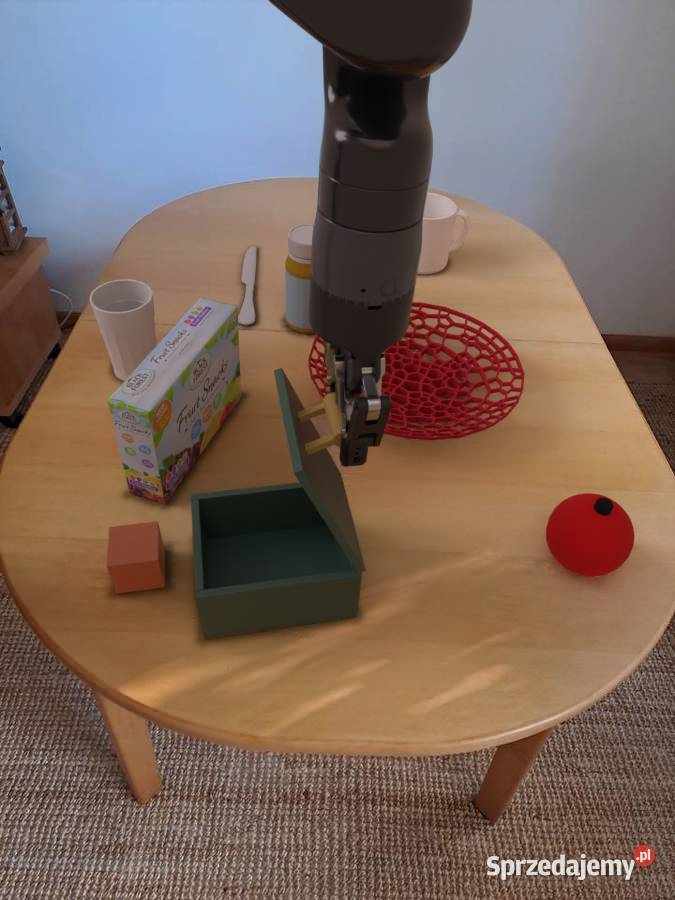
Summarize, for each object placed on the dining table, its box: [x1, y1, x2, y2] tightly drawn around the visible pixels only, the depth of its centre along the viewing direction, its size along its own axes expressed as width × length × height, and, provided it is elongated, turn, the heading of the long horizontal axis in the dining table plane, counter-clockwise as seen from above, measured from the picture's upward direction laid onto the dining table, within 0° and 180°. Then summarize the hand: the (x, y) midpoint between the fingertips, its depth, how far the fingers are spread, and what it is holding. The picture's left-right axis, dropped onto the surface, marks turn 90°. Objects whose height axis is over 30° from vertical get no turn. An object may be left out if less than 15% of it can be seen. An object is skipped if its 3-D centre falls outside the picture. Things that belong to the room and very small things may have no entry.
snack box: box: [107, 297, 243, 505], centre depth 81 cm, size 21×6×15 cm, turn 161°
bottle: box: [284, 223, 316, 335], centre depth 100 cm, size 7×7×15 cm
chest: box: [190, 481, 363, 641], centre depth 70 cm, size 16×13×8 cm
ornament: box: [545, 492, 636, 578], centre depth 72 cm, size 9×9×10 cm
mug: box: [417, 191, 471, 276], centre depth 116 cm, size 13×10×10 cm
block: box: [106, 520, 166, 595], centre depth 70 cm, size 5×5×5 cm
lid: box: [273, 367, 367, 574], centre depth 62 cm, size 16×13×5 cm
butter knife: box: [238, 245, 257, 326], centre depth 112 cm, size 1×24×3 cm
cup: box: [89, 278, 158, 382], centre depth 91 cm, size 8×8×12 cm
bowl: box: [307, 301, 525, 442], centre depth 93 cm, size 29×29×5 cm
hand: (345, 439), depth 59 cm, fingers closed on lid, 5 cm apart
